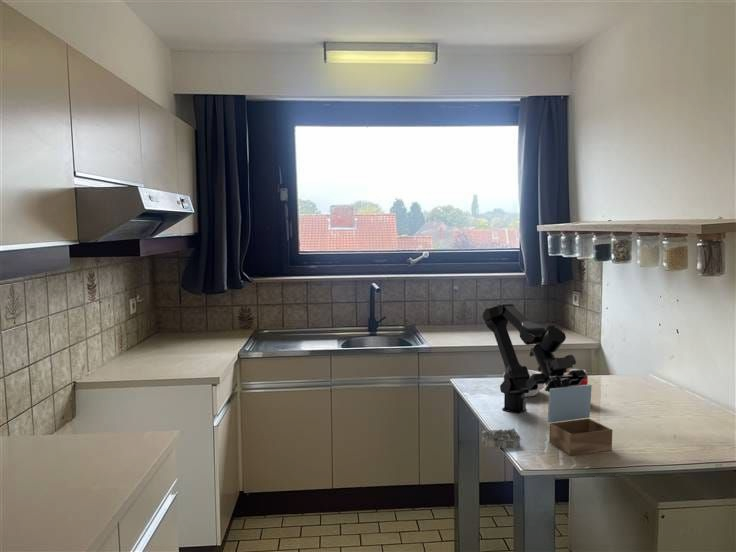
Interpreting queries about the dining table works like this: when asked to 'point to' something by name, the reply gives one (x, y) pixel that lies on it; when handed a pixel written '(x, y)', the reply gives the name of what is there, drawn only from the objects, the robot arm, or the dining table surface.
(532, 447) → the dining table surface
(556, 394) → the box lid
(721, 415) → the dining table surface
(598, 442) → the walnut box
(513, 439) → the egg carton
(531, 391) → the paper bowls
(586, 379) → the soda can
